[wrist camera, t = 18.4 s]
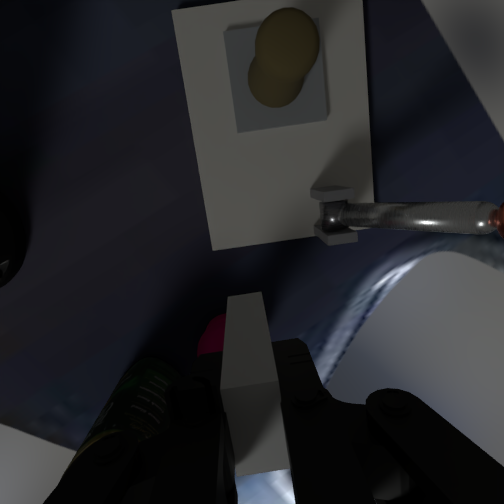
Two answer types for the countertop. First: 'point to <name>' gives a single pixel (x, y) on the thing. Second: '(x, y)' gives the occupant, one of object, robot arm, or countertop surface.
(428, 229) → the press lever
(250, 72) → the cork
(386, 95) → the countertop surface
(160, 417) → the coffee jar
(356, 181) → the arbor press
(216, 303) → the countertop surface
